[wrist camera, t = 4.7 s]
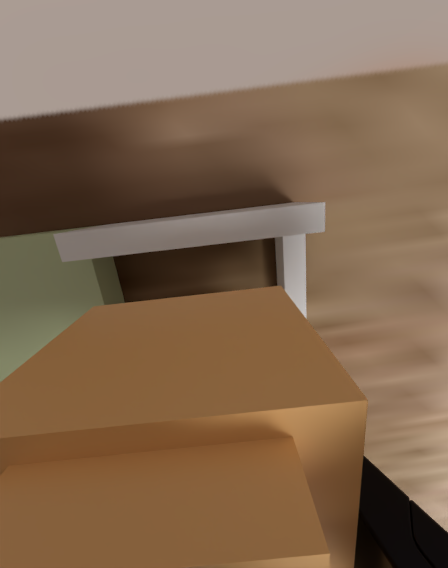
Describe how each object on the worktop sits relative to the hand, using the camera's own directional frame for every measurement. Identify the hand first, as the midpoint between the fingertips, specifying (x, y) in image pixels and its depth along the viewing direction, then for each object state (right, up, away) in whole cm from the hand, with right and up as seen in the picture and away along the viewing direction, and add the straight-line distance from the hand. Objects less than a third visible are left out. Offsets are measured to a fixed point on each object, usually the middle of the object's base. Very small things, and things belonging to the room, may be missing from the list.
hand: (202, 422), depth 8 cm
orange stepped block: (0, 0, +1) cm, 1 cm away
